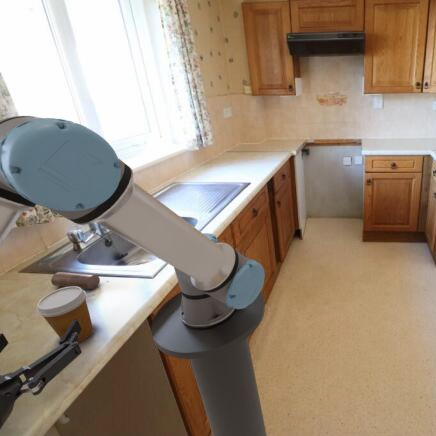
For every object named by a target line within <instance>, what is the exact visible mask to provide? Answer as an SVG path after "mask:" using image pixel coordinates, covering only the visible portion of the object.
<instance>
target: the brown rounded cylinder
mask: <svg viewBox="0 0 436 436" xmlns="http://www.w3.org/2000/svg"><path fill="white" fill-rule="evenodd" d="M100 282H101V279H100V277H99V275H97V274H90V273H79V272H78V273H77V272H64V271H58V272H55V273H54V274H53V275H52V277H51V280H50V283H51V284H52V286H54V287H60V288H65V287H70V286H77V287H80V288H81V289H82V290H95V289H97V288H98V287H99V285H100Z"/></svg>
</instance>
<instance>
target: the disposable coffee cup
mask: <svg viewBox="0 0 436 436" xmlns="http://www.w3.org/2000/svg"><path fill="white" fill-rule="evenodd" d="M86 298H87V291H85V289H81V288H80V287H77V286H70V287H60V288H58V289H56V290H52V291H51V292H49V293H47V294H46V295H44V296H43V297H41V299H40V300H39V301H37V304H36V307H37V308H36V313H37V314H38V315H39V316H41V317H43V318H44V320H45V321H46V322H47V324H48V325H49V326H50V327H51V328H52V330H53V332H55V334H56V335H57V336H58V337H59V339H61V338H62V337H63V335H64V334H65V332H66V331H67V329H68V328H69V326H70V325H71V323H72V322H73V320H78V322H79V324H80V327H81V329H82V330H81V331H80V333H79V335H78V336H79V339H78V341H77V343H78V344H79V343H81V342H83V341H84V340H86V339H88V338H89V337H90V336H91V335H92V334H93V332H94V327H93V323H92V319H91V315H90V311H89V306H88V303H87V299H86Z"/></svg>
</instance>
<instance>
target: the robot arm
mask: <svg viewBox="0 0 436 436" xmlns="http://www.w3.org/2000/svg"><path fill="white" fill-rule="evenodd" d="M133 171H134V170H133V169H132V168H131V167H130V166H129V165H128V164H127V163H125V162H124V161H123V160H121V159H120V158H119V157H118V155H117V152H116V151H115V149H114V147H113V146H112V145H111V144H110V143H109V142H108V141H107V140H106V139H105V138H104V137H103V136H101V135H100V134H99V133H97V132H95V131H94V130H92V129H91V128H89V127H87V126H85V125H82V124H80V123H77V122H73V121H71V120H67V119H63V118H55V117H39V116H32V115H16V116H11V117H6V118H3V119H1V120H0V247H1V245H2V244H3V242H4V241H5V239H6V238H7V236H9V233H10V232H11V230H12V228H13V227H14V226H15V224H16V222H17V221H18V220H19V217H20V216H21V214H22V213H24V212H27V211H31V210H34V209H35V207H36V205H37V206H40V207H44V208H46V209H48V210H50V211H51V212H54V213H55V214H57V215H59V216H61V217H62V218H65V219H67V220H68V221H70V222H73V223H74V224H76V225H80V226H85V225H90V224H97V225H99V226H101V227H102V228H104V229H106V230H108V231H110V232H112V233H113V234H114V235H117V236H119V237H121V238H122V239H124V240H126V241H127V242H129V243H131V244H133V245H135V246H136V247H138V248H140V249H141V250H142V251H145V252H147V253H149V254H150V255H152V256H153V257H155V258H157V259H159V260H161V261H162V262H164V263H166V264H168V265H169V266H172V267H173V269H174V272H175V275H176V278H177V282H178V285H179V289H180V292H181V293H182V301H181V310H180V316H181V319H182V322H183V324H184V325H185V326H186V327H188V328H191V329H195V330H204V329H210V328H213V327H216V326H218V325H221V324H222V323H224V322H226V321H227V320H228V319H230V318H231V317H232V316H233V314H234V313H235V311H236V309H243V308H245V307H247V306H248V305H249V304H251V303H252V302H253V301H254V300H255V299H256V298H257V296H258V295H259V293H260V292H261V291H262V290H263V286H264V283H265V274H266V273H265V269H264V267H263V265H262V264H261V263H260V262H258V261H257V260H255V259H251V258H248V257H246V256H245V255H243V254H242V253H241V252H240V251H238V250H237V249H235V248H234V247H233V246H232V245H230V244H229V243H227V242H219V239H218V238H217V236H216V235H215V234H213V233H210V232H209V233H208V232H205V233H204V232H203V233H202V232H201V231H200V230H199V229H197V227H195V226H193V225H192V224H191V223H189V222H188V221H187V220H185V219H184V218H183V217H181V216H180V215H179V214H177V213H176V212H175V211H174V210H172V209H171V208H170V207H168V206H167V205H165V204H164V203H162V202H161V201H160V200H159V199H157V198H156V197H154V196H153V195H152V194H150V193H149V192H148V191H147V190H145V189H144V188H142V187H141V186H140V185H138V184H137V183H136V182H134V172H133ZM81 330H82V329H81V327H80V324H79V322H78V320H73V322H72V323H71V325H70V326H69V328H68V329H67V331H66V332H65V334H64V335H63V337H62V338H60V340H59V341H58V344H59V345H58V346H57V347H55V348H53V349H52V350H50V351H49V352H47V353H46V354H44V355H43V356H41V357H39V358H38V359H37V360H34V361H33V362H31V363H30V364H29V365H27V366H22V367H20V368H18V369H16V370H15V371H13V372H8V373H5V374H0V430H1V429H2V428H3V426H4V425H5V423H6V422H7V420H8V418H9V417H10V415H12V412H13V410H14V406H15V402H16V401H17V400H18V399H19V398H20V397H21V396H23V395H24V394H28V393H31V394H32V395H33V396H38V395H40V394H42V392H43V390H44V389H45V388H46V386H47V385H48V384H49V383H50V382H51V381H53V379H54V378H56V377H57V375H59V374H60V373H61V372H62V371H64V370H65V369H66V368H67V367H68V366H69V365H70V364H71V363H73V362H74V361H75V359H77V358H78V357H80V355H81V354H82V353H83V351H82V348H81V347H80V345H79V342H78V343H77V341H78V339H79V336H78V335H79V333H80V331H81ZM8 345H9V341H8V339H7V338H6V336H5V334H4V333H3V332H2V333H0V354H1V353H2V352H3V351H4V350H5V348H6V347H7V346H8ZM22 375H23V376H24V379H25V380H24V381H23V379H22V378H21V376H22Z"/></svg>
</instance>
